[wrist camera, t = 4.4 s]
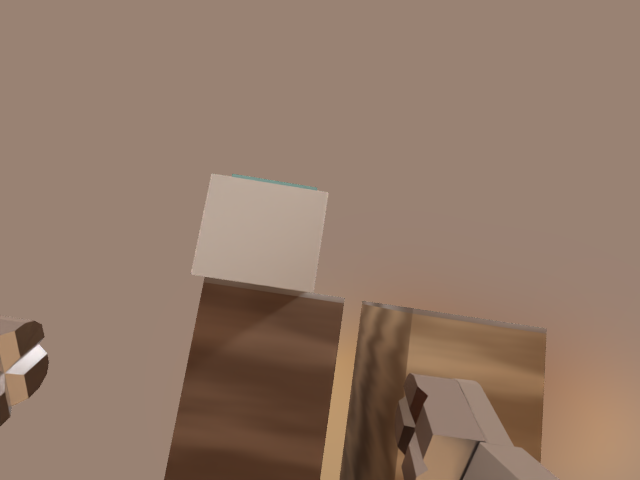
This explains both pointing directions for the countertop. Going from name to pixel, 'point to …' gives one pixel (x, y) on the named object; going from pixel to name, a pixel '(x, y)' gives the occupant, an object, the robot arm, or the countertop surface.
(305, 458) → the walnut post
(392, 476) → the oak post
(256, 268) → the bar
